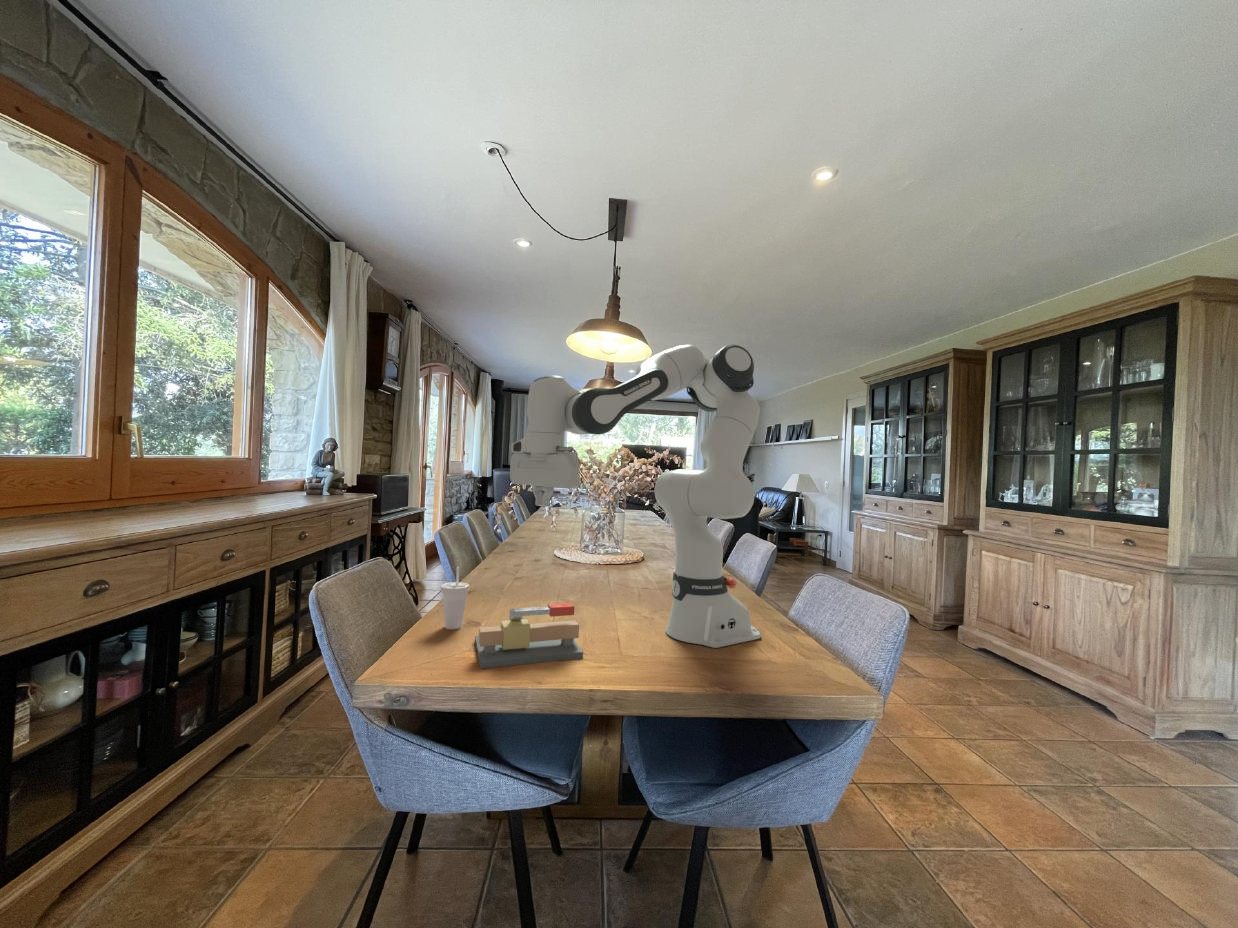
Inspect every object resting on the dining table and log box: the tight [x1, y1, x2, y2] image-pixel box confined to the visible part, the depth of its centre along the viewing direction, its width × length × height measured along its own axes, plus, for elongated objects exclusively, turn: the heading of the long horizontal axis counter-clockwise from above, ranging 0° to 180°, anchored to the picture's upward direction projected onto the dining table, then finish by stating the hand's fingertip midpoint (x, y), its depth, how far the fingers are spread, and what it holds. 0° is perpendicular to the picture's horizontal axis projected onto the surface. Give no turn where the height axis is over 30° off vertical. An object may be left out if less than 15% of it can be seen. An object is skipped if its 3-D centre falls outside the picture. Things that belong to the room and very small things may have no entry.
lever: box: [508, 602, 575, 621], centre depth 101 cm, size 13×3×2 cm, turn 111°
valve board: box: [474, 618, 584, 669], centre depth 102 cm, size 20×14×7 cm
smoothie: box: [440, 566, 470, 630], centre depth 114 cm, size 6×6×14 cm
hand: (542, 506), depth 113 cm, fingers closed
